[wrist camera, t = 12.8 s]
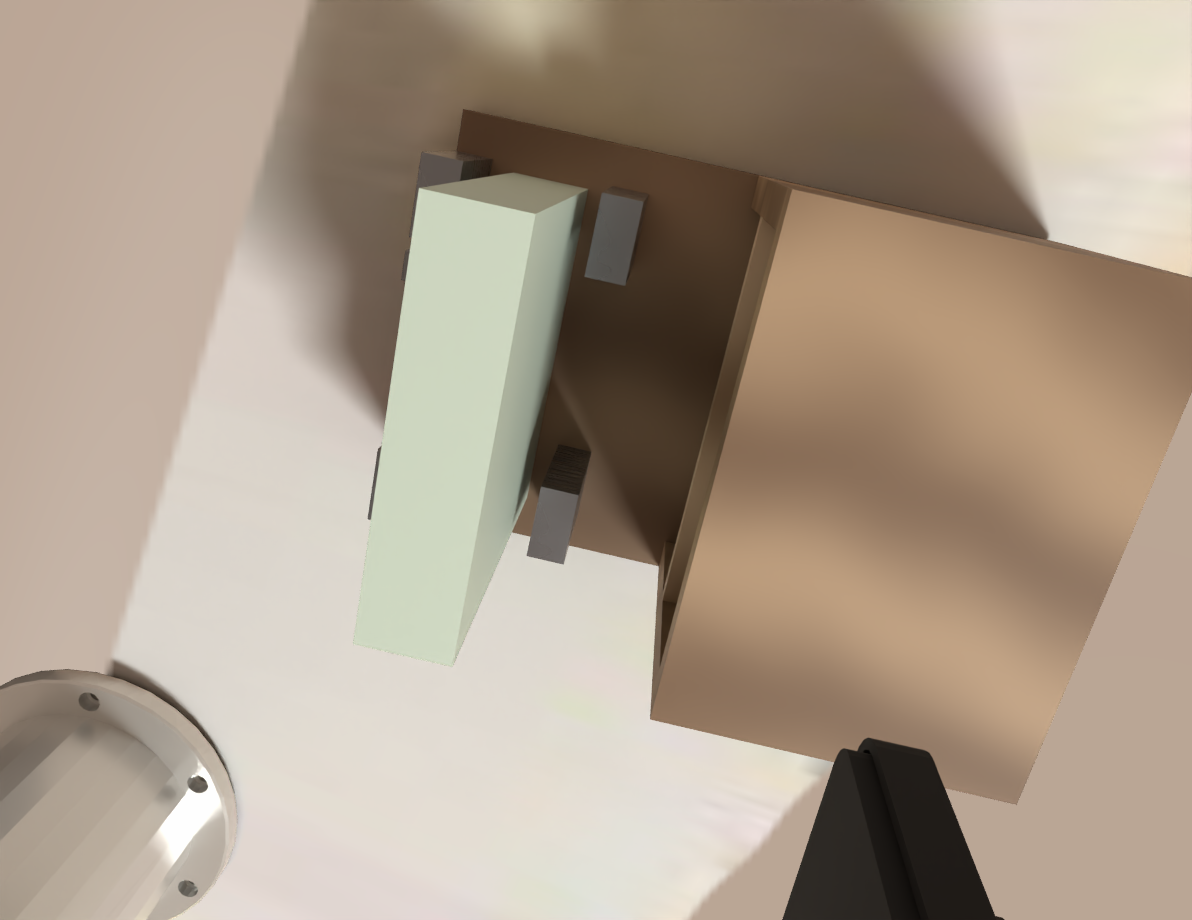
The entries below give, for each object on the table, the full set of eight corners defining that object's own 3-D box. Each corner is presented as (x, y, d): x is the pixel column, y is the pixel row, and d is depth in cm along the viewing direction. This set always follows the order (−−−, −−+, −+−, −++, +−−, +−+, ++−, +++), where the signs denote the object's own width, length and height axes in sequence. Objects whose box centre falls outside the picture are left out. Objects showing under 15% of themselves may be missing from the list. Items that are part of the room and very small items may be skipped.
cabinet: (921, 615, 36) (1016, 804, 26) (407, 496, 37) (298, 637, 26) (1054, 241, 32) (1236, 288, 21) (469, 110, 32) (367, 93, 22)
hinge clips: (578, 513, 35) (563, 564, 31) (405, 473, 35) (367, 519, 31) (648, 193, 32) (643, 201, 27) (456, 151, 32) (421, 151, 27)
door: (526, 498, 35) (452, 667, 24) (443, 479, 35) (328, 638, 24) (588, 189, 32) (535, 214, 20) (495, 168, 32) (391, 181, 20)
